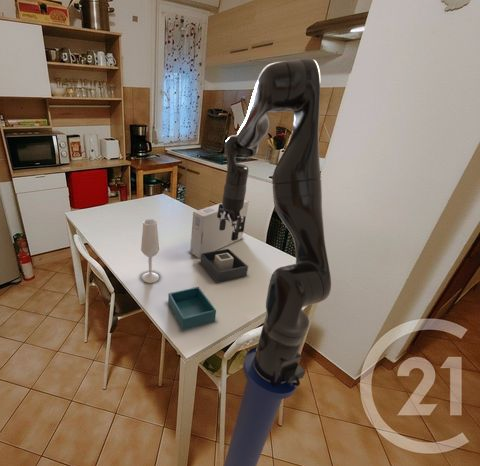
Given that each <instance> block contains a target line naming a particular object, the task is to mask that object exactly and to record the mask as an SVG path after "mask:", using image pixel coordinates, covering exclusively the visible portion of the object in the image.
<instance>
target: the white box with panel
mask: <svg viewBox="0 0 480 466" xmlns="http://www.w3.org/2000/svg"><path fill="white" fill-rule="evenodd" d="M233 260H234V258H233V257H232V256H231V255H230V254H229V253H223V254H218V255H215V260H214V266H215V268H216V269H217V270H218V271H219V272H220V271H225V270H229V269H232V266H233Z"/></svg>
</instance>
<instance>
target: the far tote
mask: <svg viewBox="0 0 480 466" xmlns="http://www.w3.org/2000/svg"><path fill="white" fill-rule="evenodd" d="M223 253H229V254H230V255H231V256H232V257H233V258H234V260H233V266H232V269H229V270H225V271H220V272H219V271H218V270H217V269H216V268H215V266H214V260H215V255H218V254H223ZM200 264H201V265H202V266H203V268H204V269H205V270H206V271H207V272H208V273H209V275H210V276H211V277H212V278H213V279H214V280H215V282H216V283H220V282H227V281H230V280H235V279H239V278H243V277H247V274H248V270H249V266H248V264H247V263H245V262H244V261H243V260H242V259H241V258H240V257H239V256H237V254H235V253H234V252H233V251H232V250H231V249H230V248H224V249H218V250H215V251H213V252H207V253H202V254H201V257H200Z"/></svg>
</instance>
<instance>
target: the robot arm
mask: <svg viewBox="0 0 480 466" xmlns="http://www.w3.org/2000/svg"><path fill="white" fill-rule="evenodd" d="M249 102H250V103H249V106H248V110H247V113H246V116H245V119H244V121H243V123H242V124H241V126H240V128H239V130H238V131H237V134H232V135H229V136H228V137H227V139H226V140H225V144H224V150H225V157H226V177H225V184H224V187H223V194H222V201H221V203H222V204H220V203H218V204H219V208H218V214H217V218H219V221H220V226H219V230H225V225H226V220H228V221H229V222H230V225H231V226H232V229H233V231H232V237H231V240H232V241H235V240H237V239H238V234H239V232H243V233H244V230H245V225H246V219H245V216H240V210H241V209H242V208H243V205H244V200H246V199H245V198H246V193H247V183H248V177H249V172H250V171H249V166H247V165H245V164H242V163H238V162H236V159H252V158H254V157H256V155H258V152H259V147H260V143H261V141H262V140H263V139H264V138H265V137H266V135H267V134H268V131H269V129H270V119H269V117H268V114H270V113H283V112H291V111H293V128H292V132H291V136H290V139H289V141H288V144H287V145H286V148H285V149H284V151H283V153H282V154H281V156H280V158H279V159H278V162H277V164H276V166H275V168H274V171H273V173H272V177H271V178H272V179H271V183H272V184H271V185H272V198H273V205H274V209H275V212H276V213H277V215H278V217H279V219H280V220H281V222H282V223H283V225H284V226H285V227H286V229H287V230H288V231H289V234H290V235H291V237H292V239H293V240H292V241H293V243H294V249H295V263H293V264H288V265H285V266H280V267H278V268H276V269H275V270H274V271H273V272H272V274H271V276H270V279H269V283H268V289H267V294H266V300H265V310H266V311H265V312H266V314H265V317H264V322H263V323H262V328H261V332H260V334H259V335H260V336H259V339H258V342H257V345H256V347H257V350H256V354H255V357H254V360H253V367H254V369H255V371H256V373H257V374H258V375H259V376H260V377H261V378H262V379H263V380H265V381H266V382H268V383H270V384H271V385H272V386H273V387H276V386H278V385H281V384H284V383H286V382H287V383H290V382H293V381H295V380H296V382H297V383H296V382H293V383H292V384H293V385H294V386H297V387H299V386H300V385H301V382H300V379H303V378H304V375H305V373H306V370H304V368H303V367H302V366H301V365H299V363H300V361H301V359H302V355H301V354H300V353H299V352H300V350H301V347H302V344H303V342H304V339H305V337H306V335H307V332H308V329H309V326H310V318H309V316H308V314H307V313H306V311H304V310H303V308H305V307H308V306H311V305H314V304H315V305H316V304H318V303H321V302H323V301H325V300H326V299H328V297H329V296H330V294H331V290H332V278H331V270H330V264H329V258H328V254H327V253H328V252H327V247H326V241H325V230H324V229H325V228H324V217H323V189H322V173H321V163H320V140H319V139H320V138H319V135H320V134H319V130H320V105H321V71H320V67H319V64H318V62H317V61H316V60H315V59H313V58H310V57H307V58H306V57H305V58H296V59H289V60H283V61H275V62H272V63H269V64H267V65H266V66H265V67H264V68H263V69H262V70H261V72H260V73H259V75H258V78H257V80H256V83H255V86H254V90H253V92H252V96H251V99H250V101H249ZM220 213H222V214H221V215H220ZM235 221H237V223H233V222H235ZM235 225H236V229H235ZM240 227H241V229H240ZM237 241H238V240H237ZM235 242H236V241H235Z"/></svg>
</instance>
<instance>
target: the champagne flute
mask: <svg viewBox="0 0 480 466" xmlns="http://www.w3.org/2000/svg"><path fill="white" fill-rule="evenodd" d="M141 232H142V233H141V244H140V245H141V246H140V250H141V253H142V254H143V255H144V256H146V257H148V272H146V273H143V274H142V276H141V280H142V281H143V282H145V283H149V284H152V283H156V282H157V281H159V279H160V276H159V275H158V274H157V273H156V272H153V257H155V256H156V255H157V254H158V253H159V252H160V243H159V241H160V240H159V231H158V221H157V220H156V219H152V218H150V219H149V218H147V219H144V220H143V222H142V231H141Z"/></svg>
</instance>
